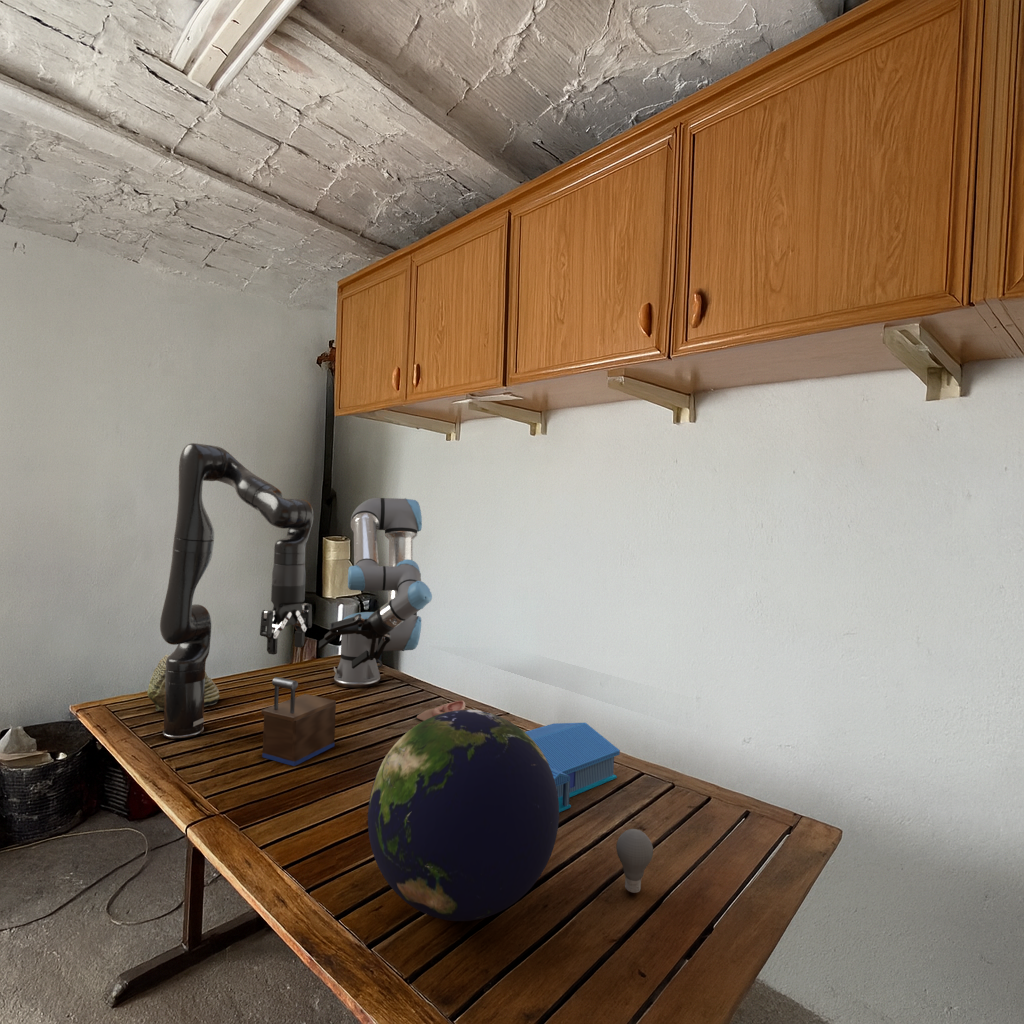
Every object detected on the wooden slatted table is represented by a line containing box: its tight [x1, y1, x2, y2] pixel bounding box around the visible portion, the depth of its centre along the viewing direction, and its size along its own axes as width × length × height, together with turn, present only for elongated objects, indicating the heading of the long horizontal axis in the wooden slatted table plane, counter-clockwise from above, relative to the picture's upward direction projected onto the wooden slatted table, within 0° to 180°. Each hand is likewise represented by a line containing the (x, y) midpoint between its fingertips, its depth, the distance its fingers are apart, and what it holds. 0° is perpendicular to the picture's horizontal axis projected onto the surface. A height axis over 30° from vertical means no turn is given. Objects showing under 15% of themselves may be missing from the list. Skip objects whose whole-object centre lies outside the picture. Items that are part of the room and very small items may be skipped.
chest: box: [261, 703, 337, 767], centre depth 156 cm, size 14×10×11 cm
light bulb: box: [615, 828, 654, 894], centre depth 106 cm, size 6×6×10 cm
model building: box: [524, 722, 621, 813], centre depth 143 cm, size 39×24×10 cm, turn 132°
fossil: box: [147, 654, 221, 712], centre depth 185 cm, size 9×18×15 cm, turn 132°
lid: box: [260, 676, 337, 722], centre depth 156 cm, size 15×10×9 cm
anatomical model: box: [416, 700, 466, 722], centre depth 185 cm, size 13×4×12 cm
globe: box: [367, 709, 560, 922], centre depth 100 cm, size 30×30×30 cm
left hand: (286, 650), depth 151 cm, fingers open, 8 cm apart
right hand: (336, 655), depth 196 cm, fingers open, 13 cm apart
